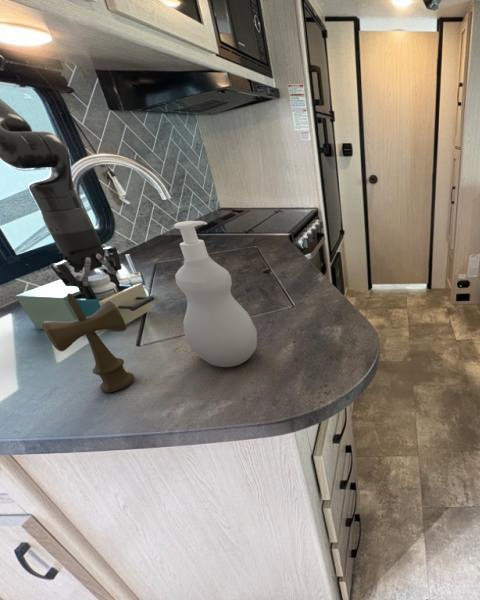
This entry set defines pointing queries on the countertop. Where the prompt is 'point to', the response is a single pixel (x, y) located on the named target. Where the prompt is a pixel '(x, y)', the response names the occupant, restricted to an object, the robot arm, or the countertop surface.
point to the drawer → (120, 302)
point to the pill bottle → (102, 286)
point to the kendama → (93, 341)
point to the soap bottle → (212, 306)
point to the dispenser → (49, 303)
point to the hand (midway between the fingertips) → (103, 293)
